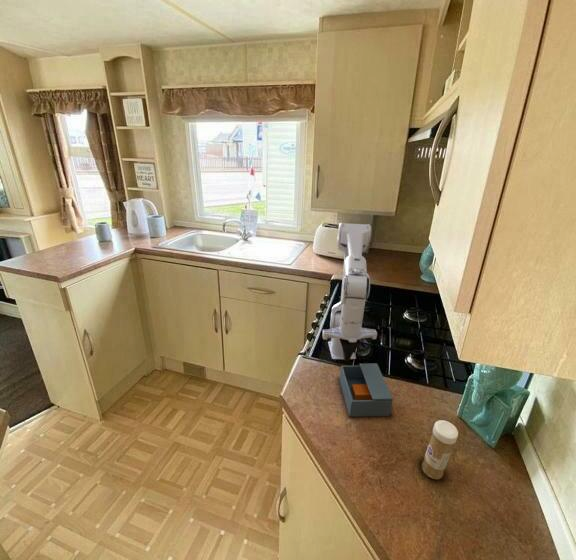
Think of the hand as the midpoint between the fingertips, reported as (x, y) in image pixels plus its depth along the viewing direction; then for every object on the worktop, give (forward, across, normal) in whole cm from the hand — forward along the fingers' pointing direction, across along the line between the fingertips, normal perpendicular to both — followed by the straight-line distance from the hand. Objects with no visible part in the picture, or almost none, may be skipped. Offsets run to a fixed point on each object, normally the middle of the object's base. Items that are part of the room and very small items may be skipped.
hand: (346, 358), depth 89 cm
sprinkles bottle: (+11, +15, -26) cm, 32 cm away
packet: (+10, +5, -4) cm, 12 cm away
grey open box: (+10, +5, -4) cm, 12 cm away
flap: (+5, +8, -4) cm, 10 cm away
